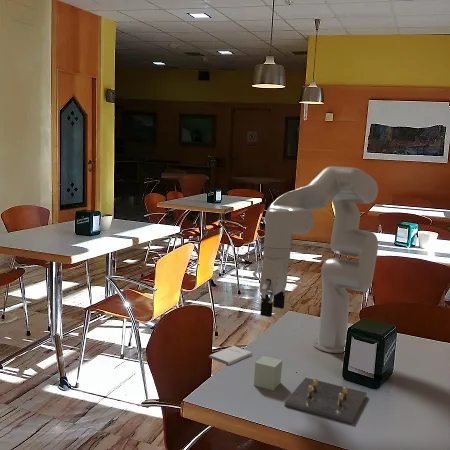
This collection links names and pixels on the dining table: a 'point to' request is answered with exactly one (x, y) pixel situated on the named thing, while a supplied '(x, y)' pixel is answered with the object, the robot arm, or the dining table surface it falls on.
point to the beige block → (268, 372)
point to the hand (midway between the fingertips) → (272, 311)
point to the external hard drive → (230, 355)
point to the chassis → (327, 400)
